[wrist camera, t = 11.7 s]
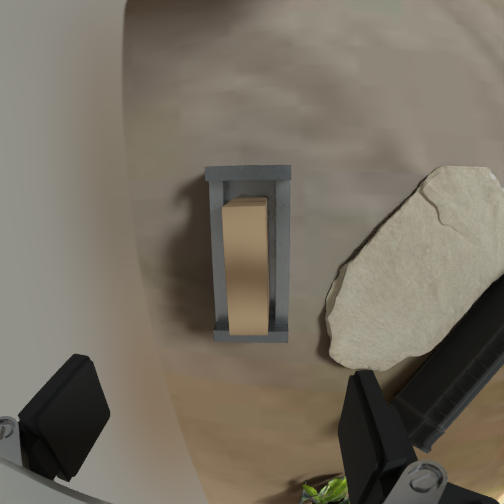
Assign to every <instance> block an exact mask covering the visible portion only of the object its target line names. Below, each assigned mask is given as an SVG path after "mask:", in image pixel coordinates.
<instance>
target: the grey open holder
mask: <svg viewBox="0 0 504 504" xmlns="http://www.w3.org/2000/svg"><path fill="white" fill-rule="evenodd" d="M290 180H291V165H244V166H212V167H205V181H209V196H210V223H211V245H212V265H213V282H214V299H215V314H216V324H215V327H214V330H213V333H214V341H223V342H259V343H288V304H289V264H290ZM247 196H267V207H268V249H269V323H268V335H230V332H229V321H228V307H227V293H226V277H225V261H224V244H223V226H222V207H223V206H224V205H225V204H227V203H228V202H229V201H231V200H232V199H233V198H234V197H247Z"/></svg>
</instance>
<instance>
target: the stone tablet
mask: <svg viewBox="0 0 504 504" xmlns="http://www.w3.org/2000/svg"><path fill="white" fill-rule="evenodd" d="M503 274H504V188H502V187H500V184H499V182H498V180H497V179H496V177H495V176H494V175H493V174H492V173H491V172H490V170H489V168H487V167H457V166H442V167H439V168H437V169H435V170H434V171H433V172H432V173H431V174H430V175H428V177H427V178H426V179H425V180H424V181H423V182H422V183H421V184H420V186H419V188H418V189H417V191H416V192H415V193H414V194H413V195H412V196H411V197H410V198H408V199H407V200H406V201H405V202H404V203H403V204H402V206H401V207H400V208H399V210H398V211H397V212H395V213H394V214H393V215H392V216H391V217H390V218H389V219H388V220H387V221H386V222H385V223H383V224H382V225H381V226H380V228H379V229H378V231H377V232H376V233H375V235H374V236H373V237H372V238H371V239H370V240H369V241H368V243H367V244H366V245H365V246H364V247H363V248H362V249H361V251H360V252H359V253H358V254H357V255H356V257H355V258H353V259H352V260H351V261H349V262H348V263H347V264H344V266H343V267H342V268H341V269H340V274H339V276H338V278H337V279H336V280H335V281H333V283H332V287H331V289H330V291H329V293H328V295H327V298H326V301H327V305H326V311H327V312H326V313H325V320H326V326H327V333H328V335H329V336H330V347H329V355H330V356H331V357H332V358H333V359H334V360H335V361H336V362H338V363H340V364H341V365H343V366H345V367H348V368H351V369H368V370H372V371H377V372H381V371H385V370H387V369H389V368H391V367H392V366H394V365H395V364H397V363H398V362H400V361H402V360H403V359H405V358H407V357H409V356H421V355H423V354H426V353H427V352H429V351H431V350H432V349H433V348H434V347H435V346H436V345H437V344H438V343H440V342H441V341H442V339H443V338H444V337H445V336H446V335H447V334H448V332H449V331H450V330H451V328H452V327H453V326H454V325H455V324H456V323H457V322H458V321H459V320H460V319H461V318H462V316H463V315H464V314H465V313H466V312H467V311H468V310H469V308H470V307H471V306H472V304H473V303H474V302H475V301H476V300H477V299H478V298H479V297H480V296H481V294H482V293H483V292H484V291H485V290H486V289H487V288H488V287H489V286H490V285H491V283H493V282H494V281H495V280H497V279H498V278H499V277H501V276H502V275H503Z"/></svg>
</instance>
